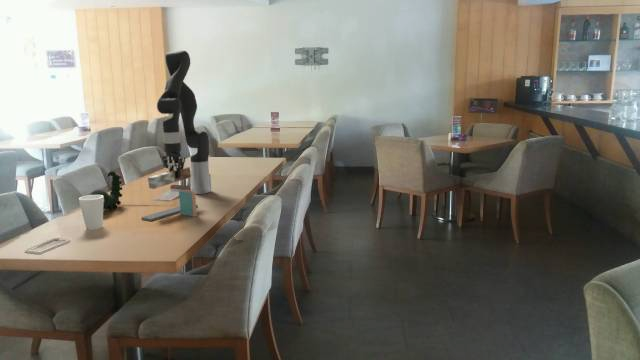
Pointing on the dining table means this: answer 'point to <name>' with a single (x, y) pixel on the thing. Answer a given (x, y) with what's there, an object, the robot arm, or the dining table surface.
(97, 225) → the foam cup
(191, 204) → the tile
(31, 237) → the dining table surface
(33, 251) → the grey rectangular frame
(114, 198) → the toy figurine
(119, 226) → the dining table surface
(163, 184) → the pale rectangular box
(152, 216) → the rest mat
